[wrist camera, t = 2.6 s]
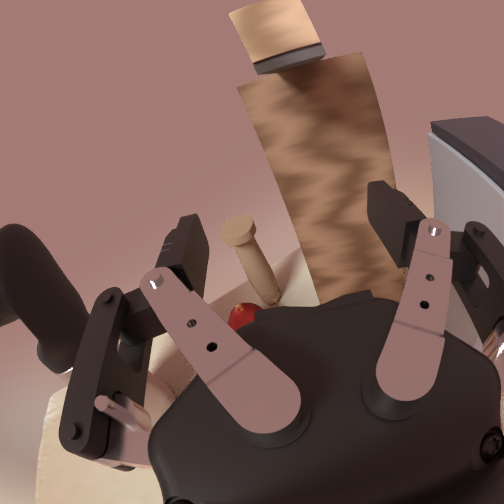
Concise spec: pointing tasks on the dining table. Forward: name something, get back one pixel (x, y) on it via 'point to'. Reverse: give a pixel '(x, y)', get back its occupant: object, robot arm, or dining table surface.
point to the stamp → (277, 35)
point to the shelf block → (328, 169)
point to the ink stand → (468, 193)
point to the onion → (242, 315)
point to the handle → (251, 256)
